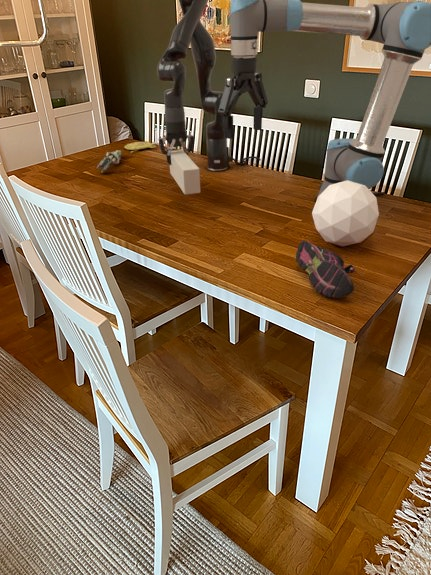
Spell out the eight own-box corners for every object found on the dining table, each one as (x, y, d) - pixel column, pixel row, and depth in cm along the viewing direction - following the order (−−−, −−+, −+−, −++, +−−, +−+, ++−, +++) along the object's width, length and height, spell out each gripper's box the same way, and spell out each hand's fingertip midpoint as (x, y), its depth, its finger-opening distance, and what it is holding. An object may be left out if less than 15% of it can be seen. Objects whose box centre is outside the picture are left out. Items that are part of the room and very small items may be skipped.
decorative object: (138, 138, 251) (166, 140, 241) (139, 142, 252) (166, 144, 242) (113, 146, 236) (141, 149, 226) (113, 151, 237) (142, 154, 228)
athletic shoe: (341, 287, 106) (380, 279, 110) (299, 225, 117) (336, 220, 122) (323, 315, 114) (360, 306, 119) (286, 254, 126) (321, 249, 130)
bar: (170, 172, 181) (168, 151, 176) (184, 171, 182) (182, 149, 177) (184, 194, 159) (183, 170, 154) (200, 192, 160) (199, 168, 155)
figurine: (101, 154, 197) (119, 141, 223) (91, 167, 200) (110, 152, 227) (114, 165, 199) (130, 151, 225) (103, 178, 203) (121, 162, 229)
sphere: (321, 259, 144) (291, 205, 142) (371, 228, 146) (342, 175, 144) (347, 258, 125) (313, 196, 123) (404, 222, 128) (371, 161, 125)
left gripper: (157, 122, 163) (161, 168, 172) (195, 119, 166) (197, 164, 175) (154, 118, 169) (158, 162, 178) (191, 115, 172) (193, 159, 181)
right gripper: (224, 61, 115) (225, 144, 127) (281, 53, 130) (277, 127, 142) (203, 60, 120) (206, 140, 131) (261, 52, 135) (259, 124, 146)
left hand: (178, 163), depth 176 cm, fingers closed on bar, 6 cm apart
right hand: (243, 133), depth 137 cm, fingers open, 13 cm apart
